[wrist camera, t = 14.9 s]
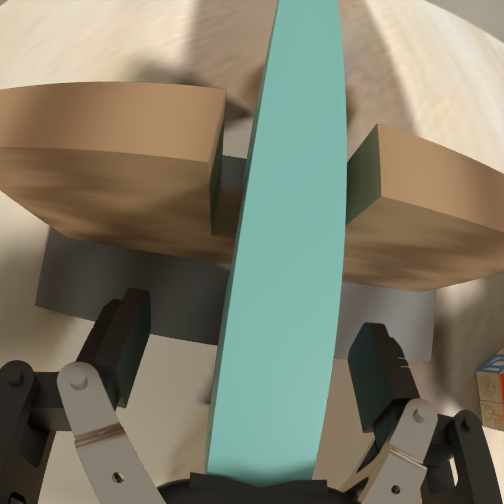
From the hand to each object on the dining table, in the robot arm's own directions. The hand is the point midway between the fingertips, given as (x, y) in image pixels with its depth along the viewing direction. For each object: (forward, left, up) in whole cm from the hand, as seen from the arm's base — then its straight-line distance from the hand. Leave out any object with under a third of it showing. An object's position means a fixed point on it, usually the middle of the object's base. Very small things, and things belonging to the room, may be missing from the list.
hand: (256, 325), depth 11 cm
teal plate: (-4, +2, -7) cm, 8 cm away
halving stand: (-4, +2, -8) cm, 9 cm away
